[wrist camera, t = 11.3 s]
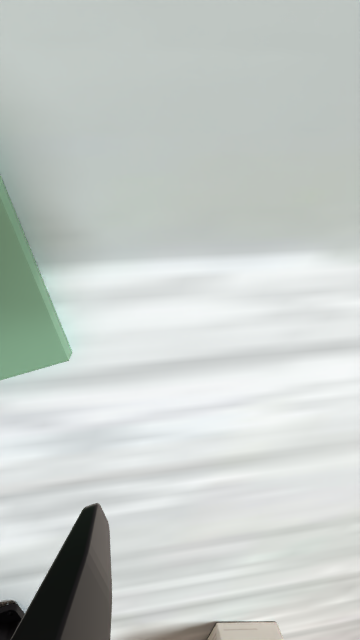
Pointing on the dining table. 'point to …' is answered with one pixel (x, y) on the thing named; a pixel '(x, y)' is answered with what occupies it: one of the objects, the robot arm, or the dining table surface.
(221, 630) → the small box
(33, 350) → the pin board
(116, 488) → the dining table surface
